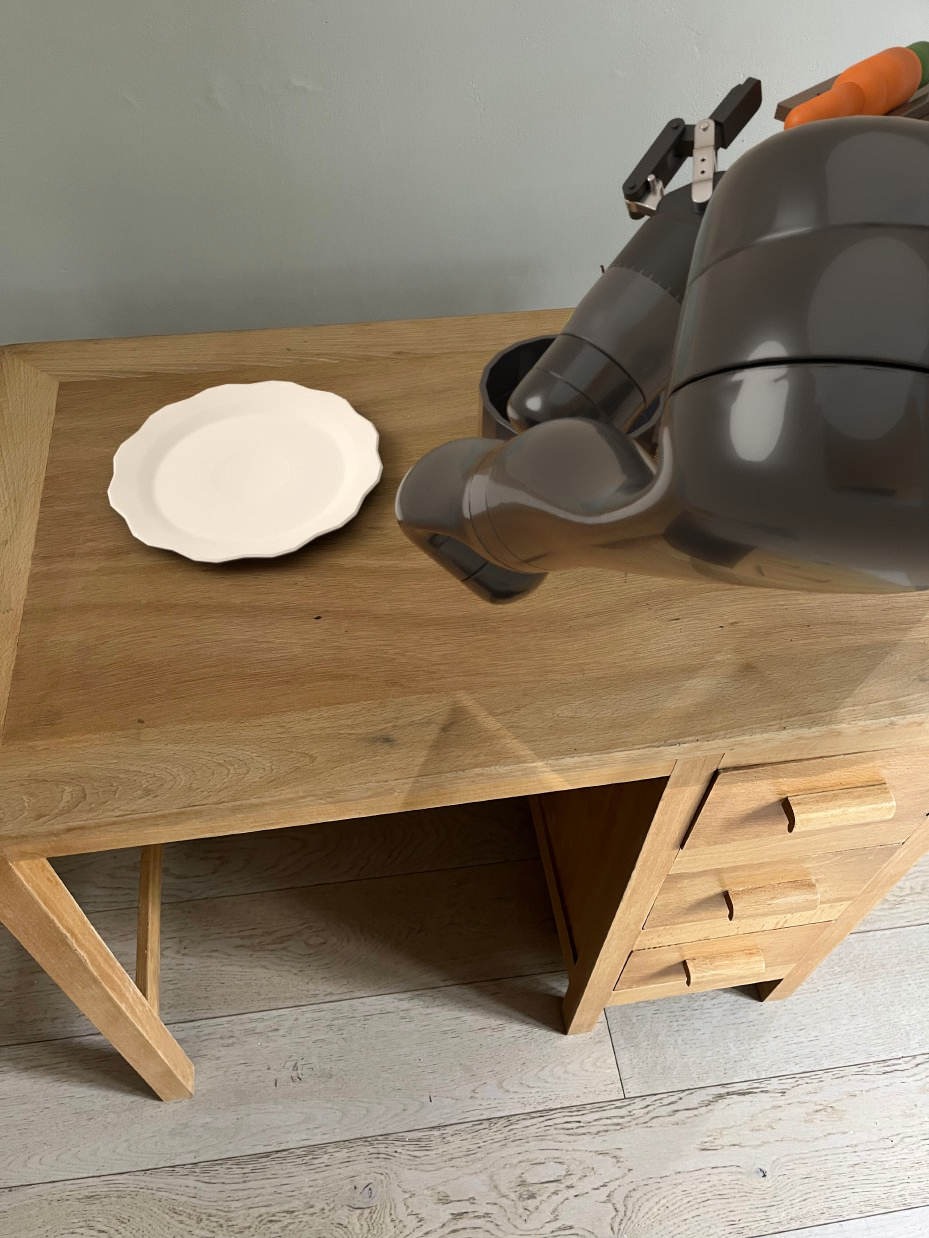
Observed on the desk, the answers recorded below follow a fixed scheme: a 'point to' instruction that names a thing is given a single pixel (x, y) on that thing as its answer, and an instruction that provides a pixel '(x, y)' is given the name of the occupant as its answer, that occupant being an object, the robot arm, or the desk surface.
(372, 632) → the desk surface
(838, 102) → the carrot
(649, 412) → the pot
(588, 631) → the desk surface
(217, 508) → the plate
